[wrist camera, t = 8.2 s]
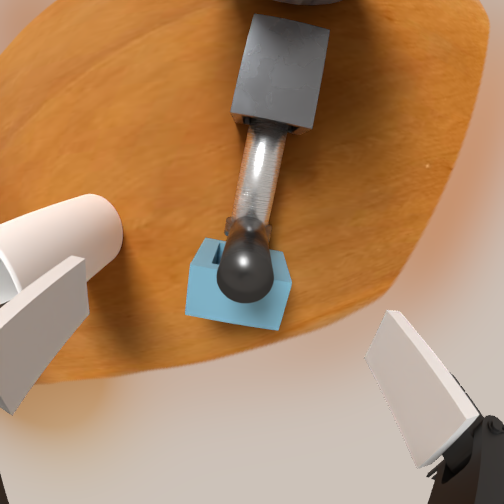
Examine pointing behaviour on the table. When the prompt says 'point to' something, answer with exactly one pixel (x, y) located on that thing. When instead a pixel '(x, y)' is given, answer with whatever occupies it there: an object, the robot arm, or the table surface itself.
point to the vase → (308, 2)
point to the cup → (57, 241)
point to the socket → (222, 308)
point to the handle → (252, 216)
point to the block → (280, 73)
